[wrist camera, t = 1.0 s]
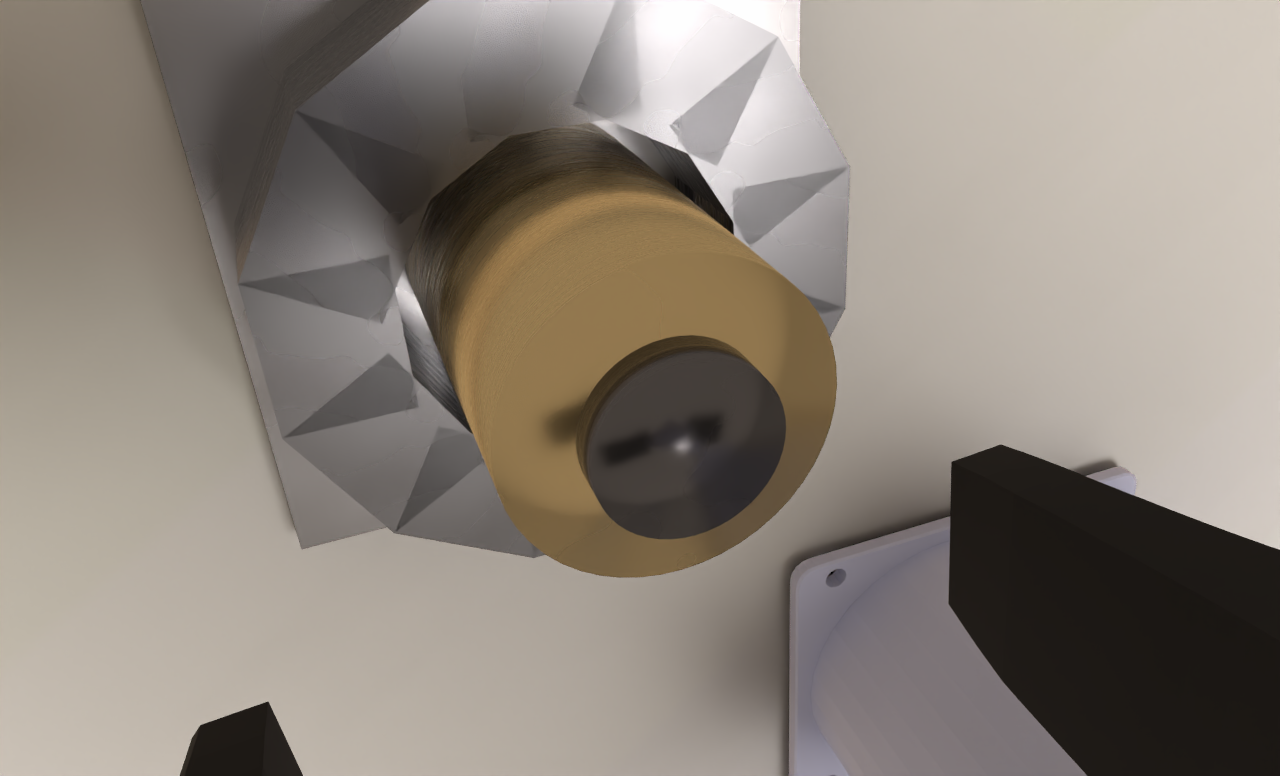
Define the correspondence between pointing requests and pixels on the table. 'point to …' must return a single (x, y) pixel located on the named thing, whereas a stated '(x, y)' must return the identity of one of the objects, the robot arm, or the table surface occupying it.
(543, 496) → the tan cylinder
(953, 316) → the table surface
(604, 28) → the housing
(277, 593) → the table surface
